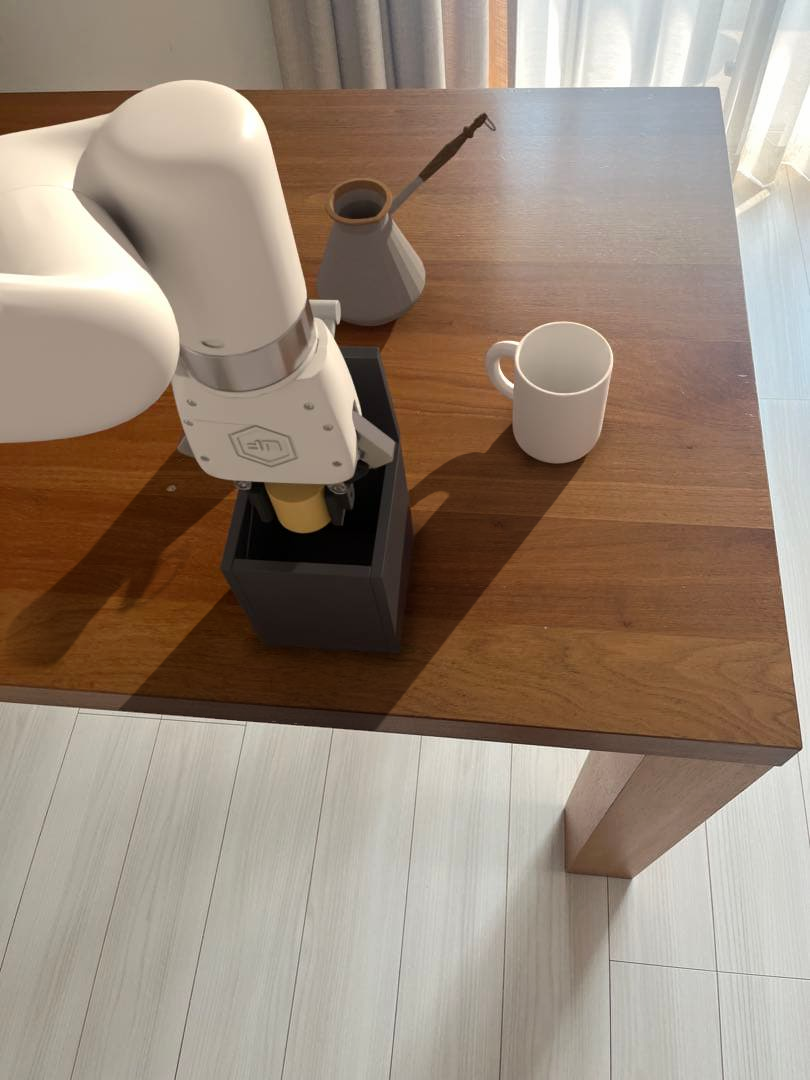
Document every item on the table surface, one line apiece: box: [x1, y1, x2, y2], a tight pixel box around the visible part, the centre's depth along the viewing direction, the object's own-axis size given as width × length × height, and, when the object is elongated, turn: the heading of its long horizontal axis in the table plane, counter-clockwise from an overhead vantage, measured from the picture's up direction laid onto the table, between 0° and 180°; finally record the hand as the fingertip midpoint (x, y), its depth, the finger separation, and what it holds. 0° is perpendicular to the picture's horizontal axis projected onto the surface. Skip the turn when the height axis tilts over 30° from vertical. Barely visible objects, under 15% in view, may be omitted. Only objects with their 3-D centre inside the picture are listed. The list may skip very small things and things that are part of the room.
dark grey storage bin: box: [219, 441, 415, 655], centre depth 71 cm, size 12×12×14 cm
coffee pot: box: [315, 112, 497, 327], centre depth 89 cm, size 21×12×15 cm, turn 124°
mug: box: [484, 321, 614, 464], centre depth 80 cm, size 12×8×10 cm
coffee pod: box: [264, 482, 331, 533], centre depth 62 cm, size 4×4×4 cm
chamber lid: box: [309, 299, 401, 442], centre depth 63 cm, size 13×12×5 cm
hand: (305, 505), depth 63 cm, fingers closed on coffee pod, 4 cm apart
